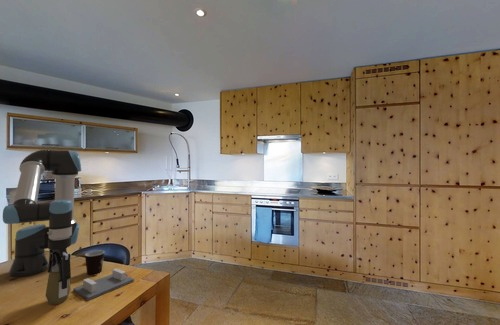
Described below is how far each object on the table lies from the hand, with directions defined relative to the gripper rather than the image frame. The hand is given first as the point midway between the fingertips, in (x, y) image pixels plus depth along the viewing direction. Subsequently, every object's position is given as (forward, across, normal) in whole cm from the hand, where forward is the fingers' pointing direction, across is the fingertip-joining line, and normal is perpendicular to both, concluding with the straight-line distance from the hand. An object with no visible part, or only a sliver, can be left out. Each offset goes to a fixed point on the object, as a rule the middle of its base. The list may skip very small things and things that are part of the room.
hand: (58, 293), depth 98 cm
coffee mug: (+3, -17, +23) cm, 29 cm away
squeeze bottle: (+3, 0, 0) cm, 3 cm away
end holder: (+3, +3, +17) cm, 18 cm away
